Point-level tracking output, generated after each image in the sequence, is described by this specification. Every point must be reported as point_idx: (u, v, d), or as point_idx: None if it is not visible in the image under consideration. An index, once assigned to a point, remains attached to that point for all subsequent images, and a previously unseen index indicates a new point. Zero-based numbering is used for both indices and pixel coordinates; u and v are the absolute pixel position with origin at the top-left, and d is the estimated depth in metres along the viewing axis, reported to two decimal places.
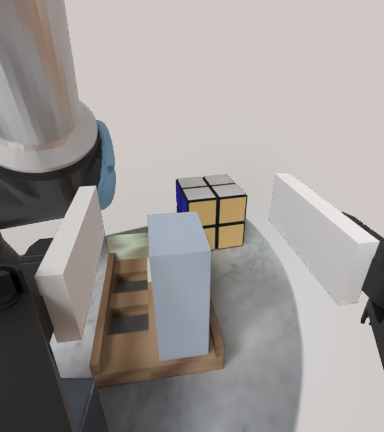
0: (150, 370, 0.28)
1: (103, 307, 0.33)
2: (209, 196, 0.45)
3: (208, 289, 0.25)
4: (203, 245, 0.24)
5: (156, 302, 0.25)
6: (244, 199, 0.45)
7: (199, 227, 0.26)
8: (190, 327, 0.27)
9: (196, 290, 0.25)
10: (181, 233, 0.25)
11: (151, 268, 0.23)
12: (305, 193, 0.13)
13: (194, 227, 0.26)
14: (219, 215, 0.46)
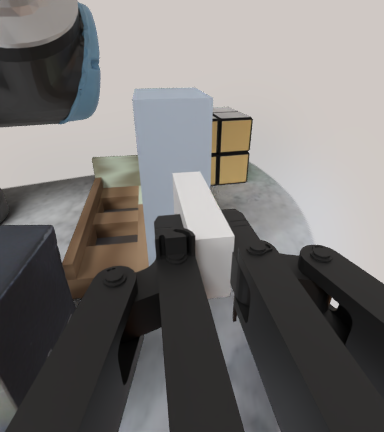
0: None
1: (84, 218, 0.28)
2: None
3: (209, 161, 0.20)
4: (203, 96, 0.19)
5: (142, 175, 0.20)
6: (249, 123, 0.40)
7: (198, 91, 0.21)
8: None
9: (194, 161, 0.20)
10: (175, 93, 0.20)
11: (135, 120, 0.18)
12: (200, 191, 0.13)
13: (191, 91, 0.21)
14: (220, 142, 0.41)
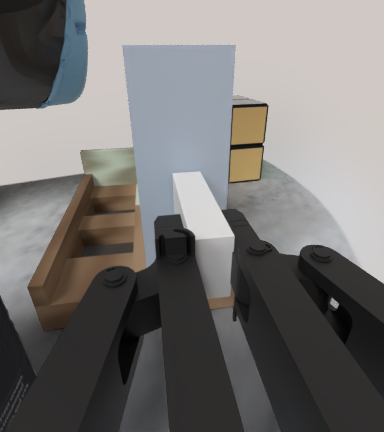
0: None
1: (66, 222, 0.22)
2: None
3: (227, 138, 0.15)
4: None
5: (138, 157, 0.15)
6: (264, 110, 0.34)
7: None
8: None
9: (207, 137, 0.15)
10: None
11: (128, 76, 0.13)
12: (200, 191, 0.13)
13: None
14: (231, 133, 0.35)
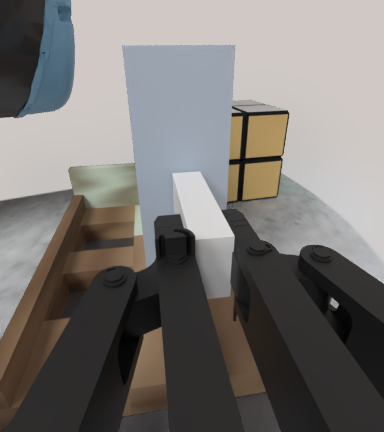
0: (130, 396, 0.12)
1: (44, 268, 0.17)
2: (232, 112, 0.29)
3: (227, 138, 0.15)
4: None
5: (138, 157, 0.15)
6: (285, 118, 0.30)
7: None
8: None
9: (207, 137, 0.15)
10: None
11: (127, 76, 0.13)
12: (200, 190, 0.13)
13: None
14: (246, 144, 0.30)
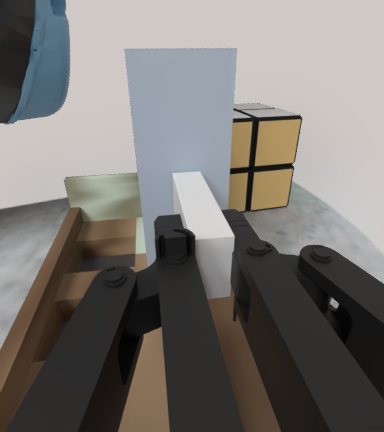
0: None
1: (34, 298, 0.15)
2: (240, 117, 0.27)
3: (229, 140, 0.15)
4: None
5: (140, 159, 0.15)
6: (297, 124, 0.28)
7: None
8: None
9: (208, 140, 0.15)
10: None
11: (129, 79, 0.13)
12: (200, 191, 0.13)
13: None
14: (255, 152, 0.28)
